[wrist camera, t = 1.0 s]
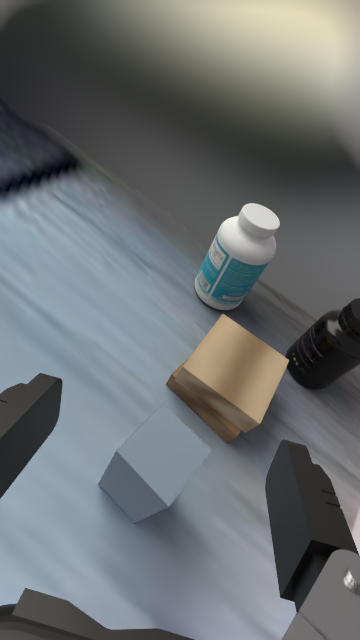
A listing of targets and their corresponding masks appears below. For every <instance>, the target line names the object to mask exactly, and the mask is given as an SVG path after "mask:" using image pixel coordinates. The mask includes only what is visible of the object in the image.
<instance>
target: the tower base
mask: <svg viewBox="0 0 360 640" xmlns="http://www.w3.org/2000/svg"><path fill="white" fill-rule="evenodd" d="M187 361H188V360H187ZM187 361H186V362H187ZM186 362H185V363H186ZM185 363H183V364H182V365H181V366H180V367H179V368H178V369H177V370H176V371H175V372H174V373H173V374H172V375H171V377H170V378H169V380H168V381H167V383H166V385H167V386H168V387H169V388H170V389H171V390H172V391H173V392H174V393H175V394H176V395H177V396H178V397H180V398H181V399H182V400H183V401H184V402H185V403H186V404H187V405H188V406H189V407H190V408H191V409H192V410H193V411H194V412H195V413H196V414H197V415H198V416H199V417H200V418H201V419H202V420H203V421H204V422H205V423H206V424H207V425H208V426H209V427H210V428H211V429H212V430H213V431H215V432H216V433H217V434H218V435H219V436H220V437H221V438H222V439H223V440H224V441H225V442H226V443H229V442H230V441H232V440H233V439H234V438H236V437H237V436H238V435H239V433H240V432H241V431H242V430H241V429H239V428H238V427H237V426H235V425H234V424H233V423H231V422H230V421H229V420H227V419H226V418H225V417H223V416H222V415H221V414H219V413H218V412H217V411H215V410H214V409H213V408H211V407H210V406H209V405H207V404H206V403H205V402H203V401H202V400H201V399H199V398H198V397H197V396H195V395H194V394H193V393H191V392H190V391H188V390H187V389H186V388H184V387H183V386H182V385H180V384H179V383H178V382H176V381H175V380H174V379H175V378H176V376H177V375H178V373H179V372H180V370H181V369H182V367H183V366H184V365H185Z"/></svg>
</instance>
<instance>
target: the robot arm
mask: <svg viewBox="0 0 360 640" xmlns="http://www.w3.org/2000/svg"><path fill="white" fill-rule="evenodd" d="M61 393H62V379H60V378H57V377H53V376H49V375H46V374H42V373H40V374H38V375H37V376H36V377H35V378H34V379H33V380H31V381H30V382H29V383H28V384H23V383H20V384H17V385H15V386H13V387H10V388H8V389H6V390H5V391H3V392H2V393H1V394H0V498H1V497H2V496H3V495H4V493H5V492H6V491H7V489H8V488H9V487H10V485H11V484H12V483H13V482H14V480H15V479H16V478H17V476H18V475H19V474H20V472H21V471H22V470H23V469H24V467H25V466H26V465H27V463H28V462H29V461H30V459H31V458H32V457H33V456H34V454H35V453H36V452H37V450H38V449H39V448H40V446H41V445H42V444H43V443H44V441H45V440H46V439H47V437H48V436H49V435H50V433H51V432H52V431H53V429H54V427H55V425H56V423H57V420H58V417H59V412H60V402H61ZM265 489H266V498H267V505H268V513H269V520H270V527H271V534H272V541H273V548H274V555H275V563H276V570H277V577H278V584H279V591H280V598H283V599H287V600H290V601H294V602H295V606H296V612H297V614H296V616H295V617H294V619H293V621H292V623H291V624H290V626H289V628H288V630H287V631H286V633H285V635H284V637H283V638H282V640H360V556H359V554H358V551H357V548H356V546H355V543H354V540H353V538H352V535H351V532H350V530H349V527H348V525H347V522H346V519H345V517H344V514H343V511H342V509H340V504H339V501H338V498H337V496H335V494H336V493H335V491H334V488H333V485H332V483H331V480H330V478H329V477H328V476H327V474H326V473H325V472H324V471H323V469H322V468H321V467H320V465H317V464H313V463H312V461H311V458H310V455H309V452H308V449H307V447H306V446H305V445H301V444H298V443H294V442H290V441H287V440H282V441H281V443H280V445H279V447H278V450H277V452H276V454H275V457H274V459H273V462H272V464H271V466H270V469H269V471H268V474H267V478H266V487H265ZM0 640H194V639H191V638H187V637H184V636H181V635H177V634H174V633H171V632H168V631H164V630H161V629H126V630H110V629H107V628H105V627H103V626H102V625H101V624H99V623H98V622H96V621H95V620H94V619H92V618H91V617H89V616H88V615H87V614H85V613H84V612H83V611H81V610H80V609H78V608H77V607H76V606H74V605H73V604H71V603H70V602H69V601H66V600H63V599H60V598H57V597H53V596H50V595H47V594H44V593H40V592H37V591H34V590H30V589H27V588H25V590H24V592H23V593H22V595H21V597H20V599H19V601H18V603H17V604H8V605H2V606H0Z"/></svg>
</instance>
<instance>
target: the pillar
mask: <svg viewBox="0 0 360 640" xmlns="http://www.w3.org/2000/svg"><path fill="white" fill-rule="evenodd" d="M210 452H211V449H210V448H209V447H208V446H207V445H206V444H205V443H204V442H203V441H202V440H201V439H200V438H199V437H198V436H197V435H196V434H195V433H194V432H193V431H192V430H191V429H190V428H189V427H188V426H187V425H186V424H185V423H184V422H183V421H182V420H181V419H179V418H178V417H177V416H176V415H175V414H174V413H173V412H172V411H171V410H170V409H169V408H168V407H167V406H166V405H165V404H164V403H163V404H162V405H161V406H160V407H159V408H158V409H157V410H156V411H155V412H154V413H153V414H152V415H151V416H150V417H149V418H148V419H147V420H146V421H145V422H144V423H143V424H142V425H141V426H140V427H139V428H138V429H137V430H136V431H135V432H134V433H133V434H132V435H131V436H130V437H129V438H128V439H127V441H126V442H125V443H124V444H123V445H122V446H121V447H120V448H119V449H118V450H117V451H116V452H115V454H114V456H113V458H112V460H111V461H110V463H109V465H108V467H107V469H106V471H105V472H104V474H103V476H102V478H101V480H100V481H99V483H98V484H99V485H100V486H101V487H102V488H103V489H104V491H105V492H106V493H107V494H108V495H109V496H110V497H111V498H112V499H113V501H114V502H115V503H116V504H117V505H118V506H119V507H120V508H121V510H122V511H123V512H124V513H125V514H126V515H127V516H128V517H129V519H130V520H131V521H132V522H133V523H134V524H135V523H137V522H139V521H141V520H143V519H145V518H147V517H149V516H151V515H153V514H155V513H157V512H159V511H162V510H164V509H166V508H168V507H169V506H170V505H171V504H172V502H173V501H174V500H175V498H176V497H177V496H178V494H179V493H180V492H181V490H182V489H183V488H184V486H185V485H186V484H187V482H188V481H189V480H190V478H191V477H192V476H193V474H194V473H195V472H196V470H197V469H198V468H199V466H200V465H201V464H202V462H203V461H204V460H205V458H206V457H207V456H208V454H209V453H210Z"/></svg>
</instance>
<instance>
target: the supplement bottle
mask: <svg viewBox="0 0 360 640" xmlns="http://www.w3.org/2000/svg"><path fill="white" fill-rule="evenodd" d="M286 358H287V359H288V360H289V362H288V364H287V367H288V370H289V372H290V373H291V375H292V376H293V377H294V378H295V379H296V380H297V381H298V382H299V383H301V384H302V385H304V386H306V387H308V388H312V389H322V388H325V387H327V386H328V385H330V384H331V383H333V382H334V381H336V380H337V379H339V378H340V377H342V376H343V375H345V374H346V373H348V372H349V371H351V370H352V369H354V368H355V367H356V366H358V365H359V364H360V298H359V299H354V300H353V301H351V302H350V303H349V304H348V305H347V306H345V307H344V308H343V309H342V310H331V311H329V312H327V313H325V314H324V315H323V316H322V317H321V318H320V319H319V320H318V321H317V322H316V323H314V324H313V325H312V326H311V327H310V328H309V329H308V330H307V331H306V332H305V333H304V334H303V335H302V336H301V337H300V338H299V339H298V340H297V341H296V342H295V343H294V344H293V345H292V346H291V347H290V348H289V349H288V351H287V353H286Z"/></svg>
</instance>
